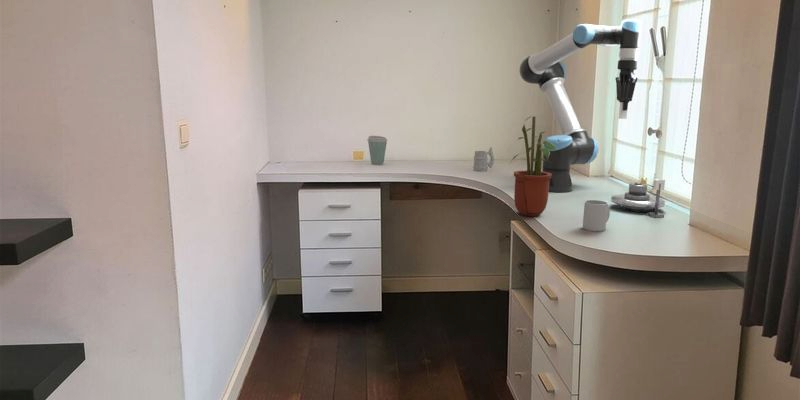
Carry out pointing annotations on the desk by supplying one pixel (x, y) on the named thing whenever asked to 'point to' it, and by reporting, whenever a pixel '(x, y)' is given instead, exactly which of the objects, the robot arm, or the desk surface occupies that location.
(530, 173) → the potted plant
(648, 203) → the turntable
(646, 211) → the turntable base
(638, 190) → the cover
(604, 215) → the cup
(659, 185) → the dial gauge
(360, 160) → the desk surface
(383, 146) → the disposable coffee cup
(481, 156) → the mug
